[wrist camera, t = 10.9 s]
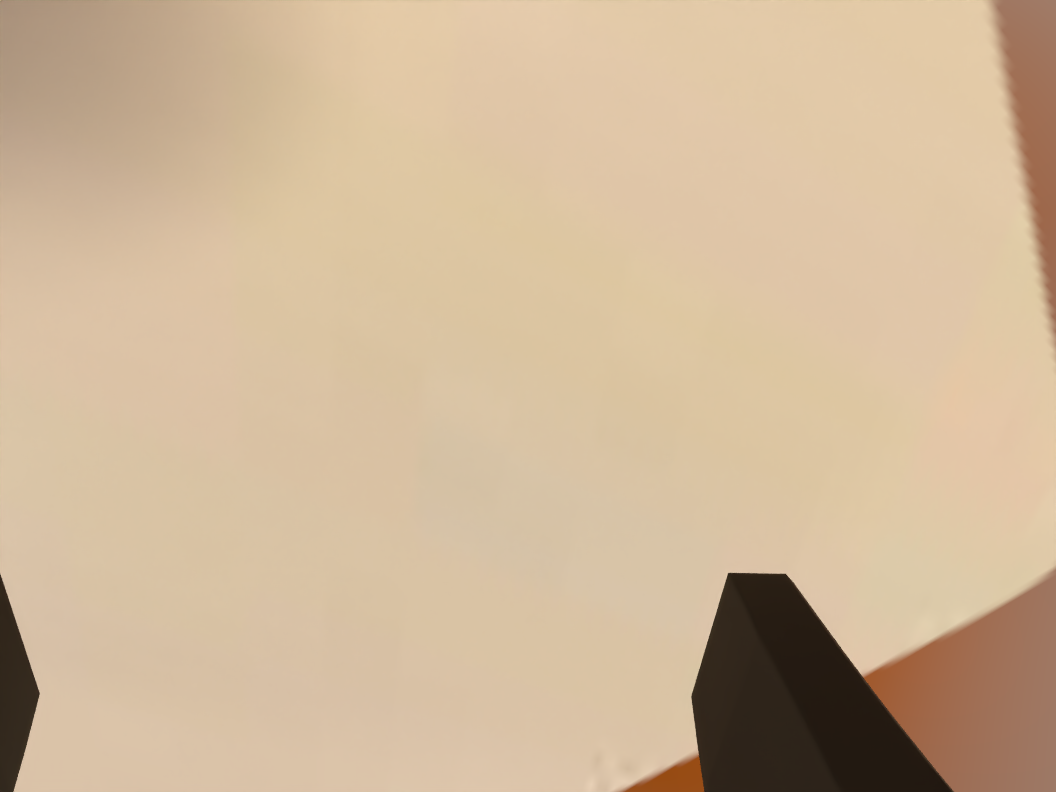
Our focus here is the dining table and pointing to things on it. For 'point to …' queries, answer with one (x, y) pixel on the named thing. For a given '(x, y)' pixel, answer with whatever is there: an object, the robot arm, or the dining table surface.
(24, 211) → the dining table surface
